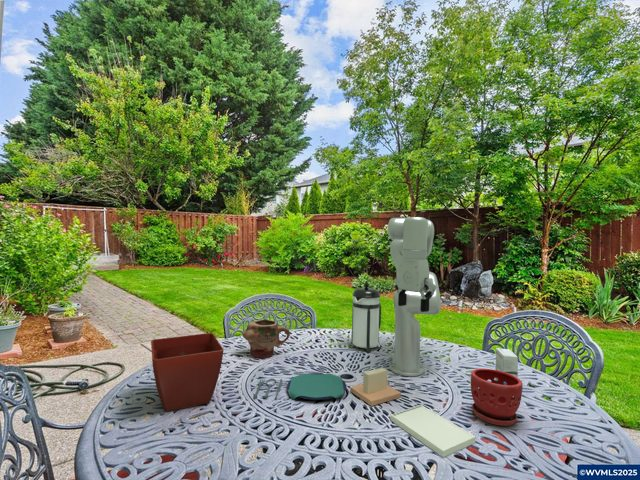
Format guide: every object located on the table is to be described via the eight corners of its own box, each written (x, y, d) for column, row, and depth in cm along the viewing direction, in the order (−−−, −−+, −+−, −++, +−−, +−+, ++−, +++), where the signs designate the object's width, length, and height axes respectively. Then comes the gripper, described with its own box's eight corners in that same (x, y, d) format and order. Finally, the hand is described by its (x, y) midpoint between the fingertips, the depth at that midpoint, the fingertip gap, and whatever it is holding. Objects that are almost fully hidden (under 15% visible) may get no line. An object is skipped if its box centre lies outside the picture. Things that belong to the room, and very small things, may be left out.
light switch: (350, 391, 111) (350, 368, 110) (378, 383, 117) (378, 362, 117) (371, 406, 101) (372, 381, 101) (401, 397, 107) (401, 374, 107)
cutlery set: (349, 405, 102) (349, 397, 102) (250, 404, 102) (250, 396, 102) (344, 378, 122) (344, 372, 122) (261, 377, 122) (261, 371, 122)
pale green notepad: (390, 420, 94) (390, 414, 94) (420, 409, 100) (421, 404, 100) (443, 457, 78) (443, 450, 78) (475, 442, 84) (475, 436, 84)
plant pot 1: (150, 421, 90) (152, 359, 90) (149, 391, 107) (150, 339, 107) (223, 406, 99) (224, 349, 99) (211, 381, 116) (212, 332, 116)
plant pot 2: (520, 435, 88) (522, 390, 88) (466, 420, 95) (467, 378, 95) (521, 414, 99) (523, 373, 99) (473, 401, 106) (474, 363, 106)
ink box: (518, 391, 114) (519, 356, 114) (502, 389, 115) (503, 355, 115) (509, 380, 122) (510, 348, 122) (494, 379, 123) (495, 347, 123)
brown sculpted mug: (288, 349, 151) (289, 318, 150) (290, 359, 138) (291, 325, 138) (243, 350, 148) (243, 318, 147) (240, 360, 136) (241, 326, 135)
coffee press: (386, 353, 148) (388, 285, 147) (350, 352, 148) (351, 284, 147) (380, 341, 165) (381, 280, 165) (347, 340, 165) (348, 279, 165)
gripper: (387, 254, 114) (386, 304, 114) (427, 257, 99) (425, 315, 99) (403, 253, 118) (402, 302, 118) (444, 257, 103) (442, 312, 103)
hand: (413, 308), depth 109 cm, fingers open, 9 cm apart
